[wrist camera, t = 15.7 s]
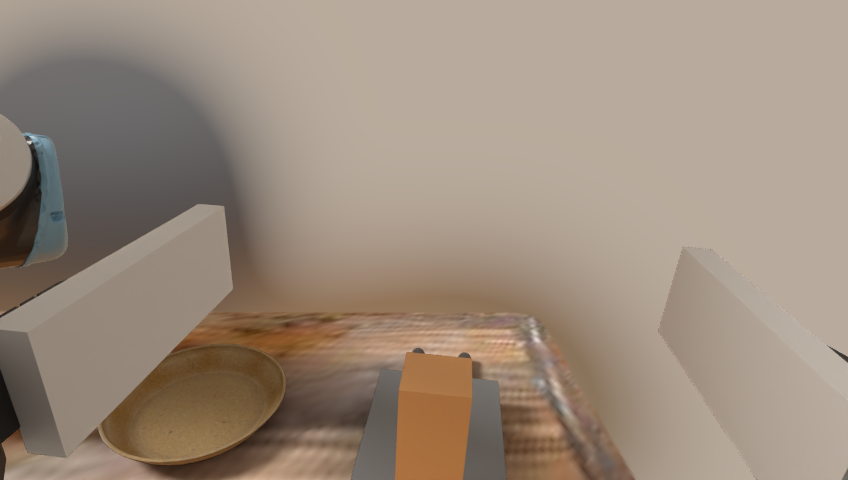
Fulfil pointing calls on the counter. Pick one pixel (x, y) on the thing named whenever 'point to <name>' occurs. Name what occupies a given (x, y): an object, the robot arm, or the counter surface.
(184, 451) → the plant saucer
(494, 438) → the switch box
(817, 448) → the robot arm
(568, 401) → the counter surface
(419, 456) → the breaker handle
